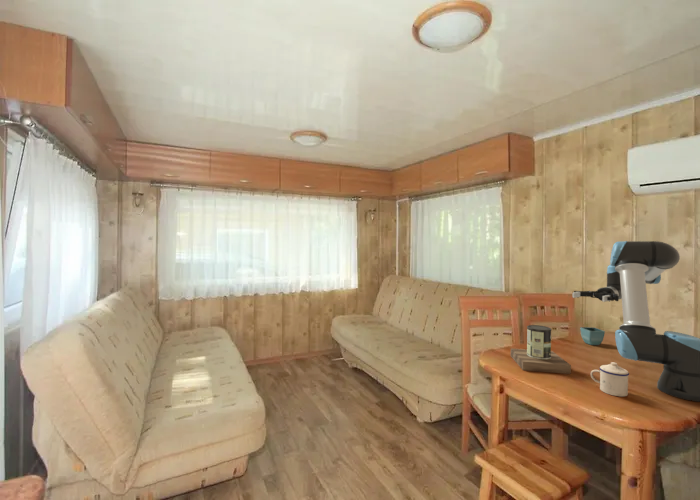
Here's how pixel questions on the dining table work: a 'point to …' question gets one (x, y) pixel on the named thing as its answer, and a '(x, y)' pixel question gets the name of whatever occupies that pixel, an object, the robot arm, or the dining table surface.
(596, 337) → the flower pot
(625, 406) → the dining table surface
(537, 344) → the coffee can
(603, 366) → the teacup with lid
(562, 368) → the walnut block
